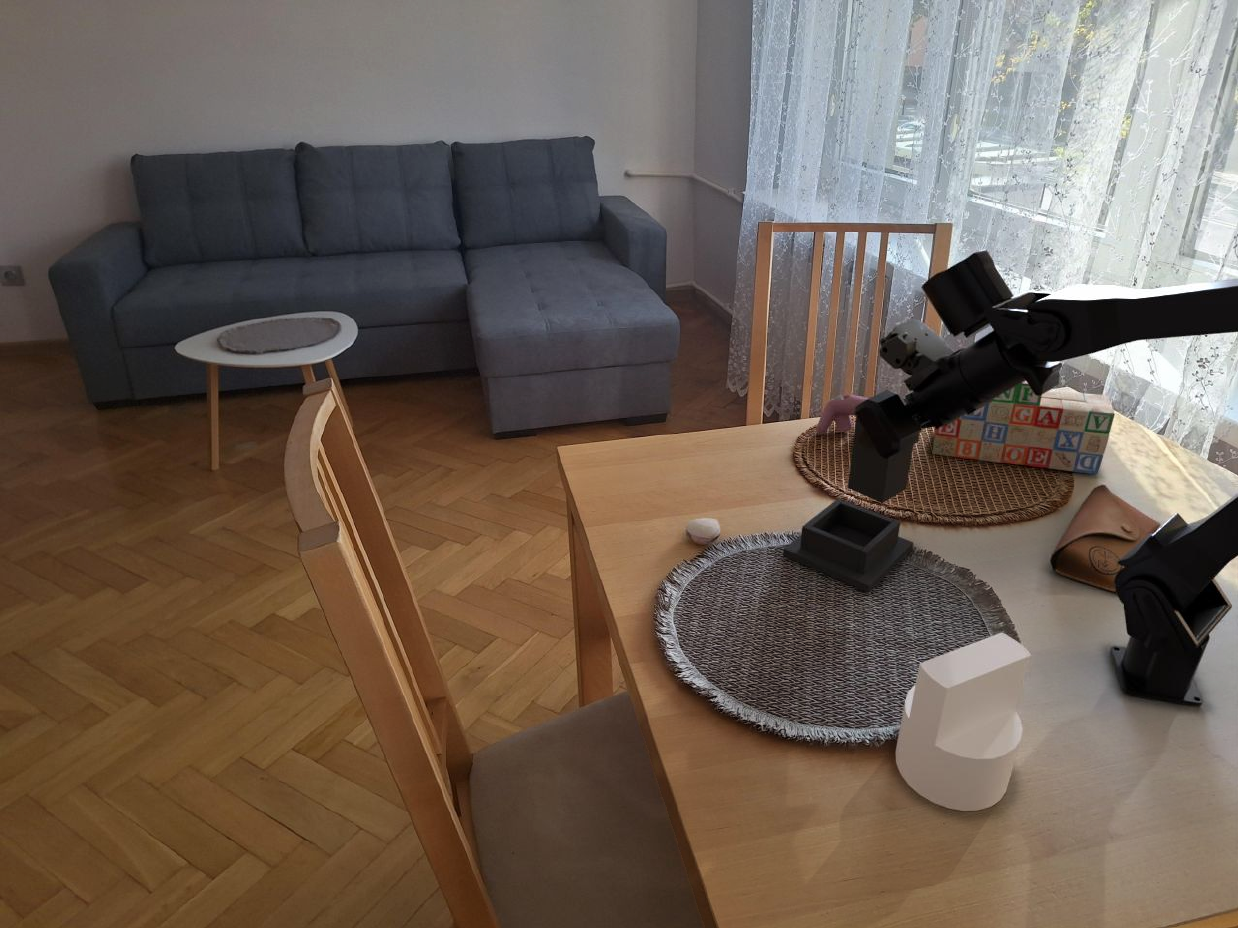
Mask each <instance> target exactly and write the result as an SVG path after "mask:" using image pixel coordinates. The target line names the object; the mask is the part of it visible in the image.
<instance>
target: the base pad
mask: <svg viewBox="0 0 1238 928" xmlns="http://www.w3.org/2000/svg"><path fill="white" fill-rule="evenodd" d="M900 529H901V521H899V520H896V519H894V518H892V517H889V516H886V515H883V514H881V513H878V512H875V511H873V510H870V509H867V508H864V507H862V506H859V505H857V504H854V503H851V502H848V501H846V500H844V499H840V498H836V499H835V500H834V501H833V502H831V503H830V504H829V505H828V506H826V507H825V508H824V509H823V510H821V511H820V512H819V513H818V514H816V515H815V516H814V517H813V518H811V519H810V520H809V521H807V522H806V523H805V524H803V525H802V526H801V534H800V535H799V536H798V537H797V538H795V539H794V540H792V541H791V542H790V543H789V544H788V545H786V546H785V547H784V548H783V550H782V551H783V553H782V556H783V557H786V558H788V559H790V560H792V561H794V562H797V563H798V564H800V565H801V564H802V565H804V566H806V567H808V568H811V569H813V570H815V571H818V572H820V573H821V574H824V575H827V576H829V577H831V578H833V579H836V580H838V581H840V582H843V583H845V584H847V585H850V586H851V587H854V588H856V589H858V590H860V591H862V592H865V593H869V592H871V590H873V588H874V587H875V586H877V585H878V584H879V583H880V582H881V581H882V580H883V579H884V578H885V577H886V576H887V575H888V574H889V573H890V572H891V571H892V570H893V569H894V568H895V567H896V566H897V565H898V564H899V563H901V562H902V560H903V559H904V558H905V557H906V556H907V555H908V554H909V553H910V552H911V551H912V550H913V548H914V541H911V540H909V539H907V538H903V537H902V536H899V535H900Z"/></svg>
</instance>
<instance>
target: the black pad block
mask: <svg viewBox="0 0 1238 928" xmlns="http://www.w3.org/2000/svg"><path fill="white" fill-rule="evenodd" d="M917 416H918V414H916V415H914V416H912V418H913V419H914V418H915V417H917ZM863 430H864V428H863V426H862V425H861V423H860V421H859V420H858V418H857V416H855V424H854V431H853V432H854V433H853V441H852V450H851V458H850V466H849V474H848V481H847V489H850V490H851V491H854V492H856V493H858V494H860V495H863V496H865V497H867V498H869V499H871V500H874V501H875V502H878V503H881V504H884V503H885V502H887V501H889V500H891V499H892V498H894V497H896V496H897V495H899V494H900V493H902V492H904V491H906V490H907V487H908V482H909V476H910V475H909V474H910V469H911V464H912V463H911V462H912V456H913V450H914V444H913V445H911V446H909V447H908V448H906V449H904V450H902V451H900V452H898V453H896V454H895V455H893V456H891V457H889V458H887V459H885V458H883V457H881V456H880V455H879V453H878V452H877V450H876V448H875V447H872V446H861V444H860V443H859V441H858V439H857V438H858V436H859V435H860V434H861V433H862V432H863Z"/></svg>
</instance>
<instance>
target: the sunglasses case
mask: <svg viewBox="0 0 1238 928" xmlns="http://www.w3.org/2000/svg"><path fill="white" fill-rule="evenodd" d="M1160 527H1161V522H1159V521H1156V520H1155V519H1153V518H1151V517H1149V515H1146V514H1145V513H1143V511H1141V510H1139V509H1138V508H1136V507H1135V506H1133V505H1131V504H1130V503H1128V502H1127V501H1126V500H1124V499H1122V498H1121V497H1119V496H1117V494H1115V493H1113V492H1112V491H1111V490H1110V489H1109V488H1108V487H1107V485H1106V484H1100V485H1097V486H1096V487H1094V488H1092V490H1091V491H1090V493H1089V494H1088V496H1087V497H1086V498H1085V499H1084V500H1083V502H1082V504H1081V505H1080V507H1079V508H1078V510H1077V511H1076V513H1075V515H1074V516H1073V518H1072V519H1071V521H1070V523H1069V524H1068V526H1067V527H1066V529H1065V530H1064V533H1063V534H1062V535H1061V537H1060V539H1059V540H1058V542H1057V545H1055V547H1054V549H1053V552H1052V553H1051V556H1050V561H1049V564H1050V565H1051V568H1052V570H1053V571H1054V572H1055V573H1056V574H1057V575H1060V576H1063V577H1065V578H1068V579H1070V580H1073V581H1074V582H1078V583H1079V584H1080V583H1081V584H1082V585H1083V584H1084V585H1086V586H1090V587H1093V588H1096V589H1100V590H1105V591H1108V592H1112V593H1116V589H1115V584H1114V579H1115V577H1116V575H1117V574H1118V573H1119V571H1120V570H1121V569H1122V568H1124V567H1125V566H1122V565H1119V564H1118V561H1119V560H1120V559H1121V558H1123V557H1124V556H1125V555H1126V554H1127V553H1128V552H1129V551H1130V550H1131V549H1133V548H1134V547H1135V546H1136V545H1137V544H1138V543H1139V542H1140V541H1142V540H1143V539H1144V538H1145V537H1146V536H1147V535H1148V534H1152V533H1155V532H1156V531H1157V530H1158V529H1159V528H1160ZM1116 594H1117V593H1116Z"/></svg>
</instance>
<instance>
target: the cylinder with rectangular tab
mask: <svg viewBox="0 0 1238 928" xmlns="http://www.w3.org/2000/svg"><path fill="white" fill-rule="evenodd" d="M1031 658H1032V654H1031V653H1030V652H1029V650H1028V649H1026V647H1025V646H1023V645H1022V643H1020V642H1019V641H1017V640H1016V639H1014V638H1012V637H1011V636H1010V635H1007V634H1006V633H1004V632H1000V633H996V634H994V635H992V636H988V637H986V638H983V639H981V640H978V641H976V642H973V643H969V644H967V645H965V646H963V647H959V648H957V649H955V650H951V651H949V652H946V653H944V654H941V655H938V656H936V657H933V658H931V659H928V660H925V661H923V662H920V663H919V666H918V672H917V675H916V681H915V684H914V685H913V686H912V687H911V688H910V689H909V690H908V692H907V693H906V698H905V700H904V704H903V709H902V714H901V719H900V726H899V731H898V736H897V742H896V748H895V764H896V767H897V769H898V772H899V774H900V776H901V777H902V778H903V779H904V781H905V783H906V784H907V785H908V786H909V787H910V788H911V789H912V790H913V791H915V792H916V793H917V794H918V795H919V796H920V797H922V798H924V799H926V800H927V801H929V802H931V803H932V804H935V805H937V806H941V807H943V808H946V809H948V810H949V809H950V810H956V811H962V812H974V811H975V812H976V811H981V810H984V809H988V808H991V807H993V806H994V805H995V804H997V803H999V802H1000V801H1001V800H1002V798H1003V797H1004V795H1005V794H1006V792H1007V790H1008V786H1009V783H1010V779H1011V775H1012V772H1013V769H1014V765H1015V762H1016V758H1017V755H1018V751H1019V748H1020V744H1021V742H1022V741H1021V740H1022V735H1023V725H1022V721H1021V718H1020V716H1019V714H1018V713H1017V708H1018V704H1019V701H1020V697H1021V694H1022V690H1023V687H1024V683H1025V680H1026V676H1027V672H1028V669H1029V665H1030V661H1031Z"/></svg>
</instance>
